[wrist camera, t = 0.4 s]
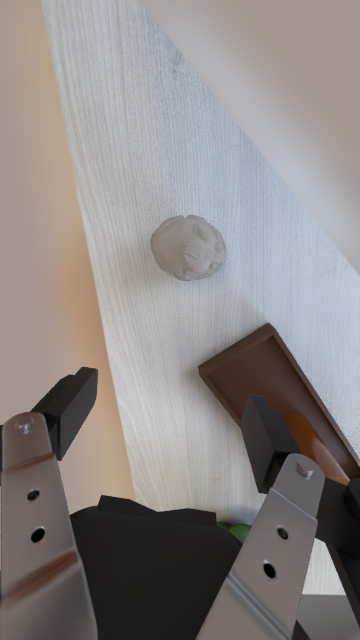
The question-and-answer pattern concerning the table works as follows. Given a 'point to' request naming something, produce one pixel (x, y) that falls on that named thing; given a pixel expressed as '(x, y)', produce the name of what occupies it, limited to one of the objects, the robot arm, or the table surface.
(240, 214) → the table surface
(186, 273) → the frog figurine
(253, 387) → the tray
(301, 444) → the amber bottle
